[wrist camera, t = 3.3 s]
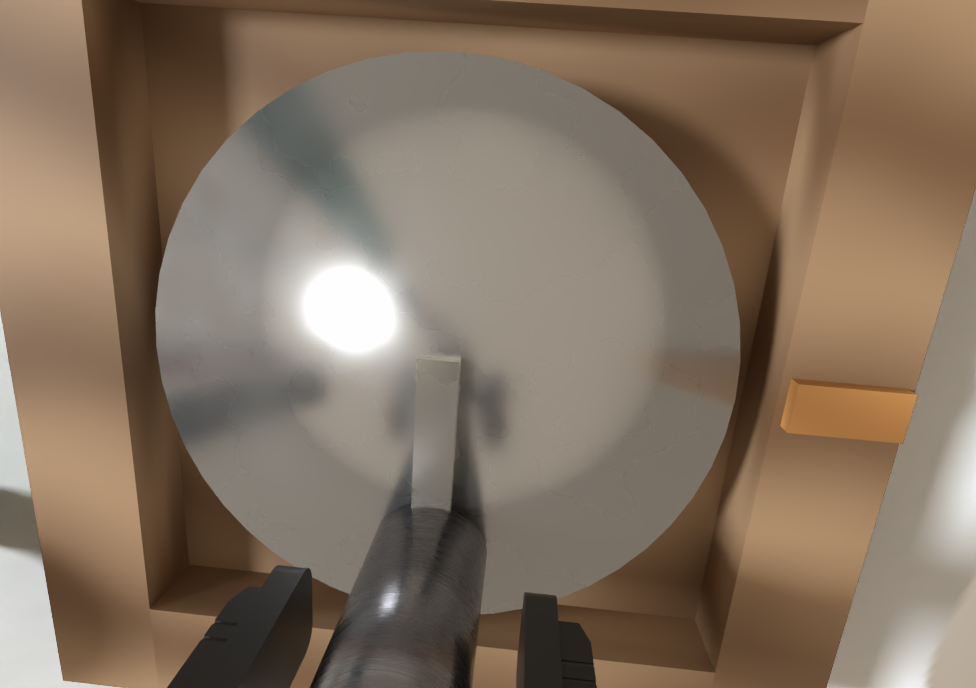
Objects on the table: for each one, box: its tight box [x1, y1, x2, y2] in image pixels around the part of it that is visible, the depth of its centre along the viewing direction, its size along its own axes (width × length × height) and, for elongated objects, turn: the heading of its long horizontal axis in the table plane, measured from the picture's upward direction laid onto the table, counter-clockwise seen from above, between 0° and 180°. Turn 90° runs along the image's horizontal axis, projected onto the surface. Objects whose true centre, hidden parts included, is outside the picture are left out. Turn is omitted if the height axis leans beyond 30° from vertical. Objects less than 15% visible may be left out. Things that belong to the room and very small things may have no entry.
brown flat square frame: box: [0, 0, 976, 688], centre depth 15 cm, size 22×22×4 cm
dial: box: [155, 52, 740, 688], centre depth 11 cm, size 14×14×10 cm
